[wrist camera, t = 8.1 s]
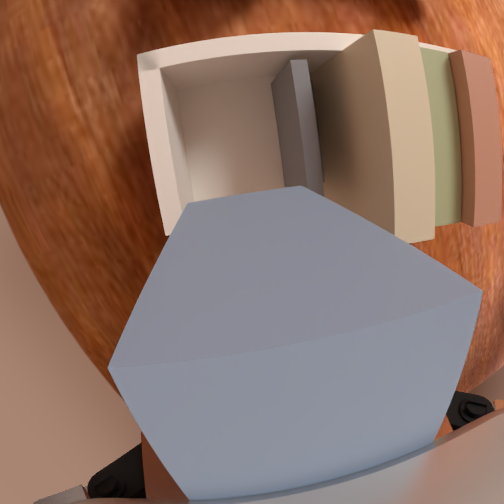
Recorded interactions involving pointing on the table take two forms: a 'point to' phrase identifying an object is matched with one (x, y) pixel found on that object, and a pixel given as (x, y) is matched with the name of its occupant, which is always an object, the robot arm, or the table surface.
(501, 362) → the table surface
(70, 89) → the table surface
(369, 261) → the grey block
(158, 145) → the shelf
